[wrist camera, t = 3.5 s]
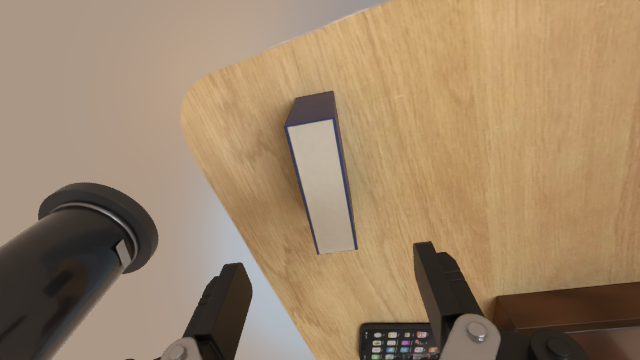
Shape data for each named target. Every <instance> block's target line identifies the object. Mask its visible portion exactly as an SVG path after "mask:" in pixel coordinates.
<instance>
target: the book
mask: <svg viewBox="0 0 640 360" xmlns="http://www.w3.org/2000/svg"><path fill="white" fill-rule="evenodd" d="M284 128H285V132H286V136H287V140H288V144H289V147H290V151H291V155H292V159H293V163H294V167H295V170H296V174H297V178H298V182H299V186H300V190H301V194H302V197H303V201H304V205H305V209H306V213H307V217H308V220H309V224H310V228H311V232H312V236H313V240H314V244H315V247H316V251H317V254H318V255H319V254H327V253H335V252H343V251H351V250H357V249H358V247H357V239H356V232H355V224H354V216H353V208H352V200H351V194H350V188H349V182H348V176H347V169H346V163H345V157H344V151H343V145H342V139H341V133H340V127H339V121H338V115H337V109H336V103H335V97H334V91H330V92H324V93H319V94H314V95H309V96H303V97H298V98H296V99H295V102H294V104H293V107H292V109H291V111H290V114H289V116H288V118H287V121H286V123H285V126H284Z"/></svg>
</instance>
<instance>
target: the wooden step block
mask: <svg viewBox="0 0 640 360" xmlns="http://www.w3.org/2000/svg"><path fill="white" fill-rule="evenodd" d="M493 324H494V325H495V326H497V327H499V328H501V329H503V330H506V331H510V332H514V333H519V334H523V335H528V336H531V335H532V334H533V333H534V332H535V331H536V330H539V329H544V328H546V329H554V330H557V331H560V332H563V333H565V334H567V335H568V336H570V337H571V338H573V339H574V340H575V341H577V342H578V343H579V344H580V345H581V347H582V348H583V349H584V350H585V352H586V353H587V355H588V356H589V358H590V359H591V360H640V282H637V283H627V284H617V285H607V286H597V287H587V288H577V289H568V290H558V291H548V292H538V293H528V294H518V295H508V296H499V297H497V301H496V307H495V314H494V321H493Z"/></svg>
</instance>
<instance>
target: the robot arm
mask: <svg viewBox="0 0 640 360" xmlns="http://www.w3.org/2000/svg"><path fill="white" fill-rule="evenodd" d="M139 249H140V244H139V239H138V236H137V234H136V232H135V231H134V229H133V228H132V226H131V225H130V224H129V223H128V222H127V221H126V220H125V219H124V218H123V217H121V216H120V215H119V214H117V213H116V212H114V211H112V210H111V209H109V208H107V207H104V206H102V205H99V204H96V203H93V202H88V201H69V202H66V203H63V204H61V205H59V206H58V207H56V208H55V209H53V210H52V211H51V212H50V213H49V214H48V215H46V216H45V217H43V218H42V219H41V220H39V221H38V222H36V223H35V224H34V225H32V226H30V227H29V228H28V229H26V230H24V231H23V232H22V233H20V234H19V235H17V236H16V237H14V238H13V239H11V240H10V241H8V242H7V243H6V244H4V245H3V246H1V247H0V360H51V359H52V358H53V357H54V356H55V355H56V353H57V352H58V351H59V350H60V348H61V347H62V346H63V345H64V344H65V342H66V341H67V340H68V338H69V337H70V336H71V335H72V334H73V333H74V331H75V330H76V329H77V328H78V326H79V325H80V324H81V323H82V321H83V320H84V319H85V318H86V317H87V315H88V314H89V313H90V312H91V311H92V309H93V308H94V307H95V306H96V304H97V303H98V302H99V301H100V299H101V298H102V297H103V296H104V295H105V293H106V292H107V291H108V290H109V289H110V287H111V286H112V285H113V284H114V282H115V281H116V280H117V279H118V277H119V276H120V275H121V274H122V273H123V271H124V270H125V269H126V268H127V267H128V266H129V265H130V264H131V263H132V262H133V261H134V260H135V258H136V257H137V255H138V253H139ZM413 255H414V271H415V277H416V281H417V284H418V287H419V290H420V294H421V297H422V300H423V303H424V306H425V309H426V312H427V315H428V318H429V321H430V325H431V328H432V331H433V334H434V337H435V340H436V343H437V346H438V349H439V352H440V355H441V356H440V358H439V360H591V359H590V358H589V356H588V355H587V353H586V352H585V350H584V349H583V348H582V347H581V345H580V344H579V343H578V342H577V341H575V340H574V339H573V338H571V337H570V336H568V335H567V334H565V333H563V332H560V331H557V330H554V329H546V328H544V329H539V330H536V331H535V332H534V333H533V334H532V335H531V336H528V335H523V334H519V333H514V332H510V331H506V330H503V329H501V328H499V327H497V326H495V325H494V324H493V323H492V322H491V321H490V320H488V319H487V318H486V317H485V316H484V315H483V313H482V311H481V309H480V307H479V305H478V304H477V302H476V300H475V298H474V296H473V294H472V292H471V290H470V288H469V286H468V284H467V282H466V281H465V278H464V276H463V274H462V272H461V271H460V268H459V266H458V264H457V263H456V261H455V259H453V258H452V257H451V256H450V255H449V254H448V253H446V252H440V253H436V251H435V249H434V246H433V244H432V242H431V241H428V242H420V243H413ZM251 299H252V285H251V282H250V280H249V277H248V275H247V273H246V270H245V268H244V266H243V264H242V263H231V264H225V265H224V266H223V268H222V271H221V273H220V275H219V276H216V277H214V278H213V279H212V280H211V281H210V283H209V284H208V285H207V286H206V288H205V290H204V292H203V295H202V298H201V299H200V301H199V303H198V306H197V307H196V309H195V311H194V314H193V316H192V318H191V320H190V322H189V324H188V326H187V329H186V330H185V333H184V335H183V337H182V338H181V339H179V340H177V341H175V342H174V343H172V344H171V345H170V346H169V347H168V348H167V349H166V350H165V352H164V353H163V355H162V356H161V357H159V358H157V359H154V360H234V357H235V354H236V350H237V347H238V343H239V340H240V336H241V333H242V330H243V326H244V323H245V320H246V316H247V313H248V309H249V306H250V302H251ZM126 360H134V359H126Z"/></svg>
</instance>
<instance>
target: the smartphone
mask: <svg viewBox="0 0 640 360" xmlns="http://www.w3.org/2000/svg"><path fill="white" fill-rule="evenodd" d="M359 356H360V360H439V358H440V356H441V355H440V352H439V349H438V346H437V343H436V340H435V337H434V334H433V331H432V328H431V325H430V324H372V325H364V326H363V327H362V328H361V332H360V352H359Z"/></svg>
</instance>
